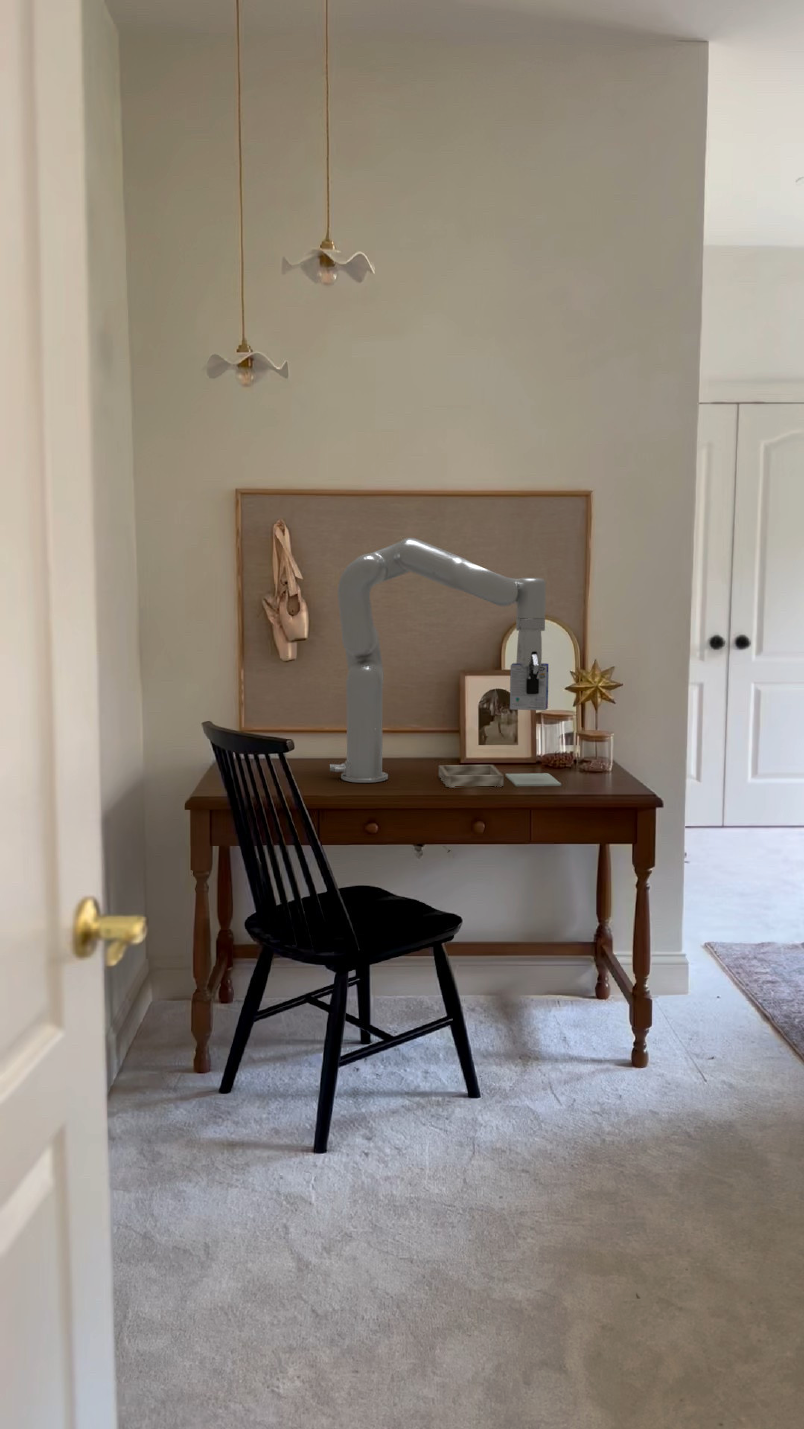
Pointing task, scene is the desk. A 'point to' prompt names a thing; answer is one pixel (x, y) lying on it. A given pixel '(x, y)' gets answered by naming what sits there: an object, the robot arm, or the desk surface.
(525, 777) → the mat
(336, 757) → the desk surface
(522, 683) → the ink cartridge box
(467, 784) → the holder
